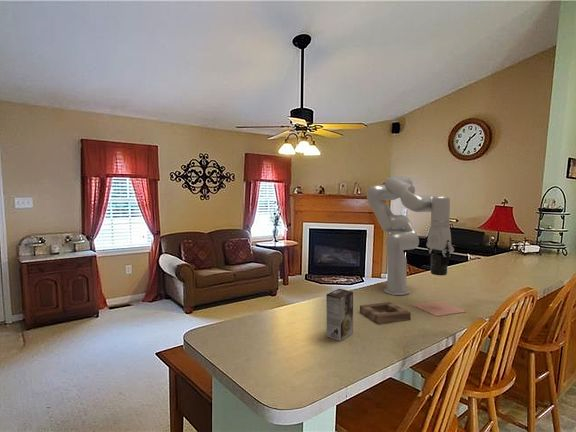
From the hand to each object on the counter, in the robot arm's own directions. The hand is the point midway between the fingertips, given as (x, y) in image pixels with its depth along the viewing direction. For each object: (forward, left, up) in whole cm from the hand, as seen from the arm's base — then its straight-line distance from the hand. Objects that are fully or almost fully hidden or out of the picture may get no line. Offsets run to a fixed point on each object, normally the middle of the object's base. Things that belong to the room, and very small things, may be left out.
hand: (439, 263), depth 156 cm
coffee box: (+12, -55, -21) cm, 60 cm away
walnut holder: (0, -28, -21) cm, 35 cm away
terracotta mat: (0, 0, -21) cm, 21 cm away
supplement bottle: (0, 0, -5) cm, 5 cm away
